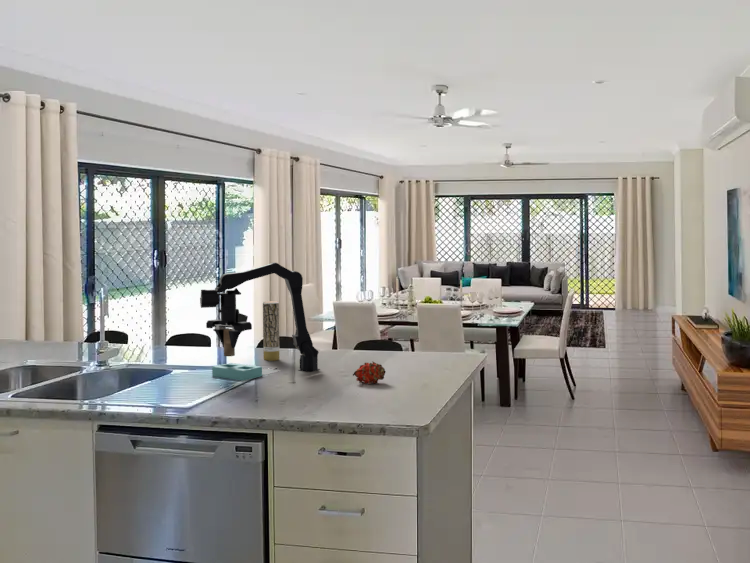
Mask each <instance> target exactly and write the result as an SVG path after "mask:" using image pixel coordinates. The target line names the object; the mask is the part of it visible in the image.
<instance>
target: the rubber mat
mask: <svg viewBox="0 0 750 563" xmlns="http://www.w3.org/2000/svg"><path fill="white" fill-rule="evenodd" d="M278 372H282V370H280V369H272V368H265V367H264V368H263V367H262V376H265V375H269V374H274V373H278Z"/></svg>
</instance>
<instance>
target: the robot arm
mask: <svg viewBox="0 0 750 563" xmlns="http://www.w3.org/2000/svg"><path fill="white" fill-rule="evenodd" d="M272 274H275V275H276V276H278V277H280V278H282V279H284V282H285V284H286V288H287V290H288V292H289V295H290V298H291V299H290V300H291V306H292V311H293V312H292V314H293V317H294V325H295V333H294V334H291V337H292V340H293V342H292V343H293V344H292V345H294V346H295V348H296V349H297V351H299V353H300V355H299V369H297V371H300V372H307V373H308V372H309V373H312V372H315V371H320V370H321V369H320V368H318V367H319V366H318V365H319V363H318V362H319V358H318V355H319V350H317V349H316V347H315V346H314V343H313V341H312V337H311V335H310V333H309V331H308V327H307V322H306V316H305V315H306V314H305V309H304V302H303V297H302V292H303V274H302V273H300V272H299V271H296V270H290V269H288V268H287V267H284V266H282V265H281V264H279V263H278V262H271V263H269V264H265V265H262V266H259V267H255V268H251V269H247V270H244V271H239V272H238V271H237V272H236V271H234V272H227V273H224V274H222V275H221V276H220V278H219V282H218V284H217V285H216V286H215V287H214V289H200V297H199V304H200V305H199V306H200V308H201V309H202V308H204V309H205V308H217V306H219V305H220V309H218V312H217V313H220V319H210V320H206V321H207V322H206V325H205V327H206V329H213V328H214V329H213V332H215V334H216V335H217V337H218V339H219V340H220V344H222V346H223V348H224V330H223V329H232V330H231V331H229V336H230V342H231V346H232V348H236V345H237V342H238V339H239V337H240V335H241V333H242V332H245V331H249V330H252V329H253V328H252V327H253V325H252V323H251V322H250V321H248V318H249V317H248V315H246V314H243V313H240V310H239V308H237V296H238V295H242V292H240V291H239V289H238V288H237V287H238V286H240V285H242V284H243V283H246V282H248V281H252V280H255V279H259V278H263V277H265V276H269V275H272ZM232 289H233V290H232Z"/></svg>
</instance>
